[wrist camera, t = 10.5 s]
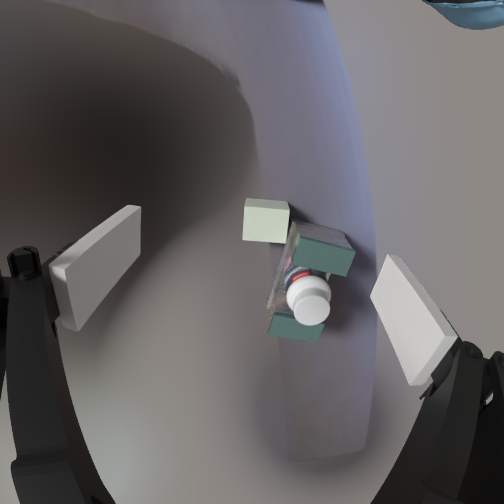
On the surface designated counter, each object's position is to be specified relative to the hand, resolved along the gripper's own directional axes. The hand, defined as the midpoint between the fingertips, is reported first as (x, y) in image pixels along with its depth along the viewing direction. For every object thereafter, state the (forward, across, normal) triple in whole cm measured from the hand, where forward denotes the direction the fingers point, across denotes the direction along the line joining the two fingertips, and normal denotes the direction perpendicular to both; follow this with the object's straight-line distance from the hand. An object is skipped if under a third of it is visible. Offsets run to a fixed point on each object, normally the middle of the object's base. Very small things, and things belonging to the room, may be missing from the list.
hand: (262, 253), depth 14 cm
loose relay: (+22, +1, -5) cm, 22 cm away
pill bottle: (+20, +7, -11) cm, 24 cm away
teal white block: (+21, +7, -11) cm, 25 cm away
